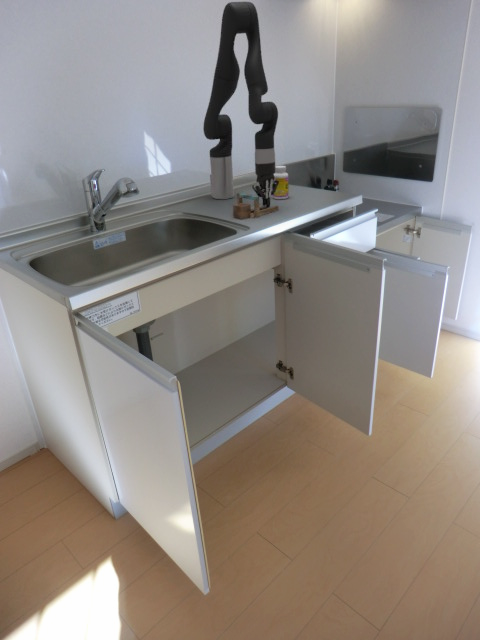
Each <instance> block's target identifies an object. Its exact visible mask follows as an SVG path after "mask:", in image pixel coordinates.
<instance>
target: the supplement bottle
mask: <svg viewBox="0 0 480 640" xmlns="http://www.w3.org/2000/svg"><path fill="white" fill-rule="evenodd" d="M286 171H287V166H285V165H275V174H274V176H275V179H276V180H278V181H279V184H278V186H277V188H276V191H275V193H274V195H272V198H273V199H274V200H286V199H288V198H289V192H290V191H289V173H287V172H286Z"/></svg>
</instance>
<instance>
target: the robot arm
mask: <svg viewBox="0 0 480 640" xmlns="http://www.w3.org/2000/svg"><path fill="white" fill-rule="evenodd" d="M220 25H221V27H220V38H219V45H218V53H217V59H216V64H215V69H214V74H213V81H212V86H211V87H212V88H211V93H210V97H209V102H208V106H207V109H206V113H205V115H204V121H203V127H202V128H203V133H204V137H205V138H206V139H207V140H212V141H214V140H219V141H218V143H217V144H216V145H215V146H213V147H212V148H210V150H209V160H210V161H209V162H210V163H209V164H210V175H209V178H210V179H209V180H210V181H209V183H210V192H211V193H210V194H211V198H213V199H215V200H228V199H232V198H234V197H235V189H234V176H233V175H234V174H233V157H232V155H233V153H232V152H233V151H232V150H233V124H232V120H231V118H230V116H229V115H227V114H226V113H225V114H221V112H222V109H223V108H224V107H225V105H226V104H227V103H228V102H229V101H230V99H231V98H232V97H233V95H234V93H235V92H236V90H237V88H238V85H239V84H238V83H239V78H240V73H241V69H240V64H239V61H238V58H237V57H236V54H235V53H236V52H235V40H236V36H237V34H241V35H242V34H245V35H246V40H247V53H246V58H245V62H244V69H243V73H244V75H243V76H244V79H245V83H246V87H247V93H248V98H247V99H248V100H247V101H248V102H247V103H248V104H247V105H248V107H247V108H248V116H249V119H250V121H251V122H252V123H253V124H255V125H262V126H261V129H260V130H258V131H256V132H255V134H254V167H255V169H254V170H255V171H254V172H255V175H256V183H255V184H253V185H252V186H251V187H252V189H253V191H254V192H255V194H256V196H259V198H262V204H264V205H266V208H270V207H271V197H272V196H273V195H274V193H275V191H276V188H277V186H278V184H279V181H278V180H276V179H275V176H274V174H275V166H276V152H275V133H276V128H277V123H278V119H279V111H278V110H279V109H278V107H277V105H276V103H274V102H273V101H262V96H264V95H266V94H267V93H268V90H269V87H268V83H267V78H266V73H265V69H264V64H263V57H262V47H261V46H262V45H261V43H262V42H261V34H260V33H261V32H260V24H259V16H258V10H257V7H256V6H255V4H254V3H253V2H251V1H230V2H228V3H226V4H225V6H224V9H223V12H222V16H221V24H220Z"/></svg>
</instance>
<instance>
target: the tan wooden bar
mask: <svg viewBox="0 0 480 640" xmlns="http://www.w3.org/2000/svg"><path fill="white" fill-rule="evenodd" d="M264 209H267V208H266V205H264V204H263V203H259V210H264ZM253 212H254V205H253V206H252V205H251V213H253Z"/></svg>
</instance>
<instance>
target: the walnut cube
mask: <svg viewBox="0 0 480 640" xmlns="http://www.w3.org/2000/svg"><path fill="white" fill-rule="evenodd" d="M251 207H252V205H251V204H250V203H245V202H242V203H239V204H237V203H236V204H233V205H232V214H233V219H237V218H238V220H245V219H248V218H250V213H251Z"/></svg>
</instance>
